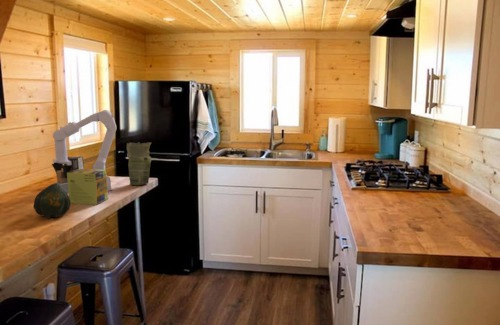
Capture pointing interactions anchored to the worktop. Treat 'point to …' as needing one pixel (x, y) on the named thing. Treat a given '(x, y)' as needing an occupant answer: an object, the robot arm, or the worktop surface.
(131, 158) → the pouch
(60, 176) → the walnut block
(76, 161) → the coffee box
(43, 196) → the squash
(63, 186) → the base block
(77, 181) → the protein box
